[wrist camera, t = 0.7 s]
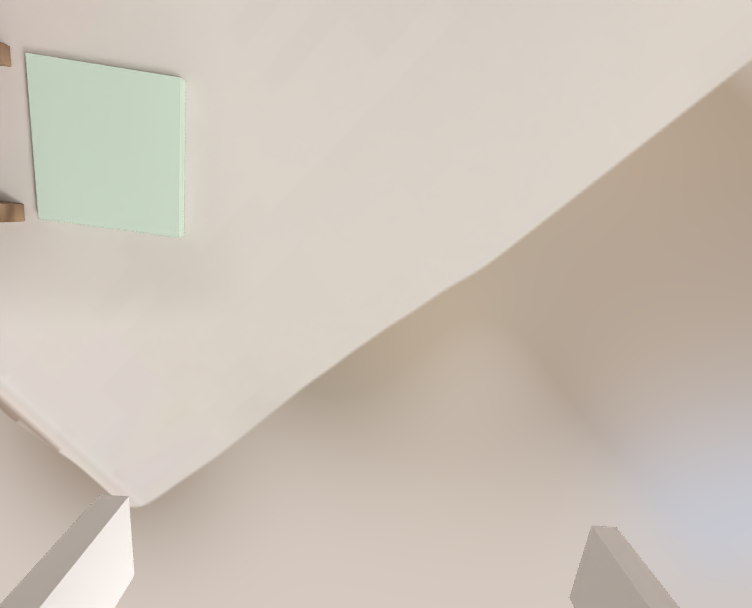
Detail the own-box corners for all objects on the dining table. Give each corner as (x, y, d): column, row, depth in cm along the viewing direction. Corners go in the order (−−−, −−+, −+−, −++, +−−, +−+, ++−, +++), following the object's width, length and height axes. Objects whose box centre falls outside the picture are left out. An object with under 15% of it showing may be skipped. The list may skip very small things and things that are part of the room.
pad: (35, 57, 31) (25, 52, 30) (186, 81, 32) (180, 77, 31) (47, 218, 34) (38, 219, 33) (183, 236, 35) (178, 237, 34)
